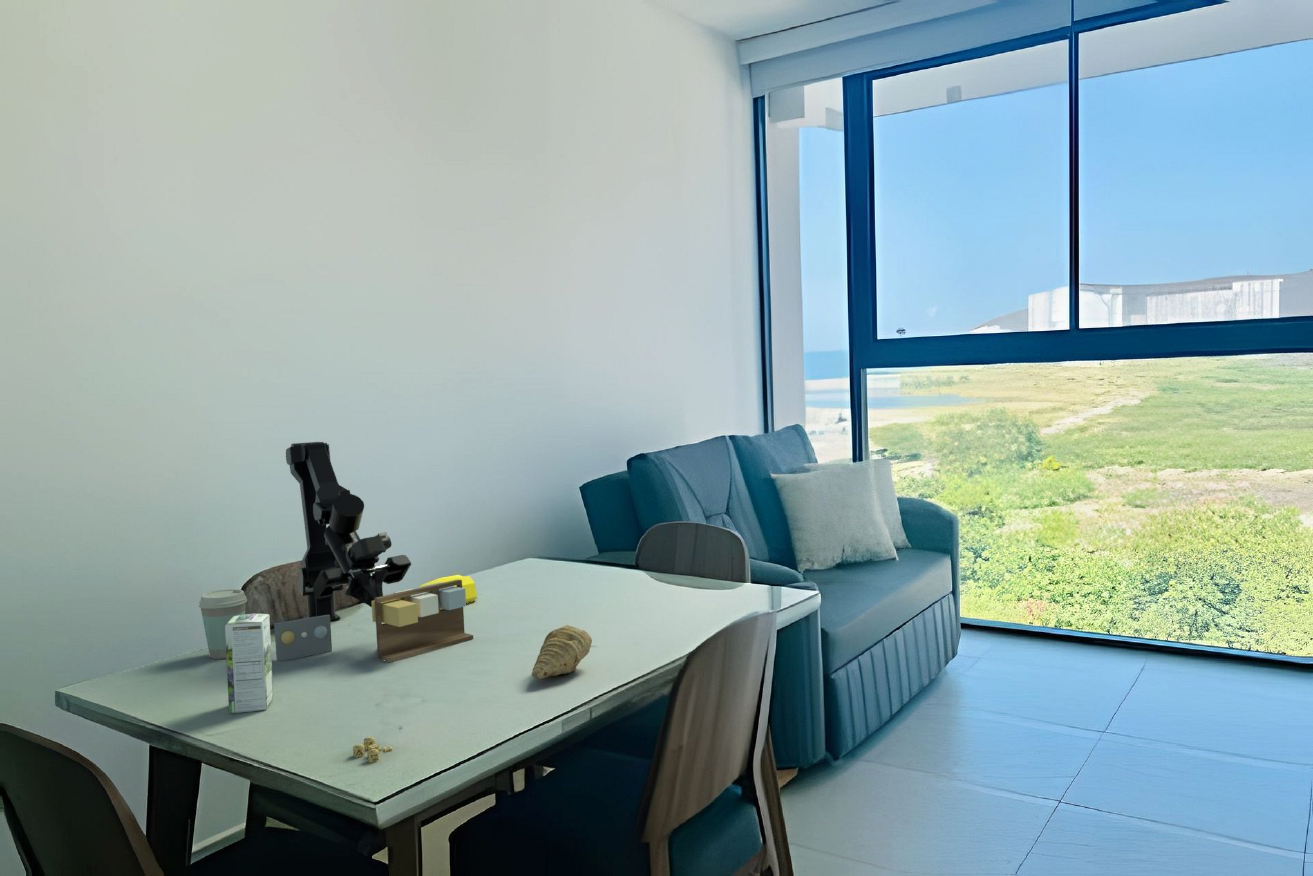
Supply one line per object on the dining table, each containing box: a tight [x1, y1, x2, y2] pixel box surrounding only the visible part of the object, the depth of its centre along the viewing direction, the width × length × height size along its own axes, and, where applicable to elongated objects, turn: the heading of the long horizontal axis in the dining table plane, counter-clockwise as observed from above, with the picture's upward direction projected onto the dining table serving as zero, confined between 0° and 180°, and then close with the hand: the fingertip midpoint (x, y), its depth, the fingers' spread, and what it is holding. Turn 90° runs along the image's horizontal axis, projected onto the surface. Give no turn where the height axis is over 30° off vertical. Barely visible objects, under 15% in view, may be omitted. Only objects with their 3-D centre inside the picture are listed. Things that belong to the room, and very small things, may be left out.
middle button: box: [392, 587, 439, 617], centre depth 187 cm, size 9×4×4 cm, turn 48°
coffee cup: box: [198, 588, 248, 660], centre depth 187 cm, size 8×9×12 cm
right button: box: [422, 582, 467, 610], centre depth 192 cm, size 9×4×4 cm, turn 48°
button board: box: [374, 579, 474, 663], centre depth 186 cm, size 4×19×12 cm, turn 138°
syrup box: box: [225, 613, 274, 714], centre depth 155 cm, size 6×6×14 cm
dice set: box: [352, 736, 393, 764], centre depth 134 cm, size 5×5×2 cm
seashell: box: [531, 624, 593, 680], centre depth 166 cm, size 14×8×8 cm, turn 160°
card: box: [273, 615, 333, 662], centre depth 184 cm, size 1×10×7 cm, turn 124°
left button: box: [371, 599, 418, 627], centre depth 181 cm, size 9×4×4 cm, turn 48°
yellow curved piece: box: [418, 574, 478, 610], centre depth 220 cm, size 18×7×8 cm
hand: (381, 610), depth 184 cm, fingers closed, pressing on left button
